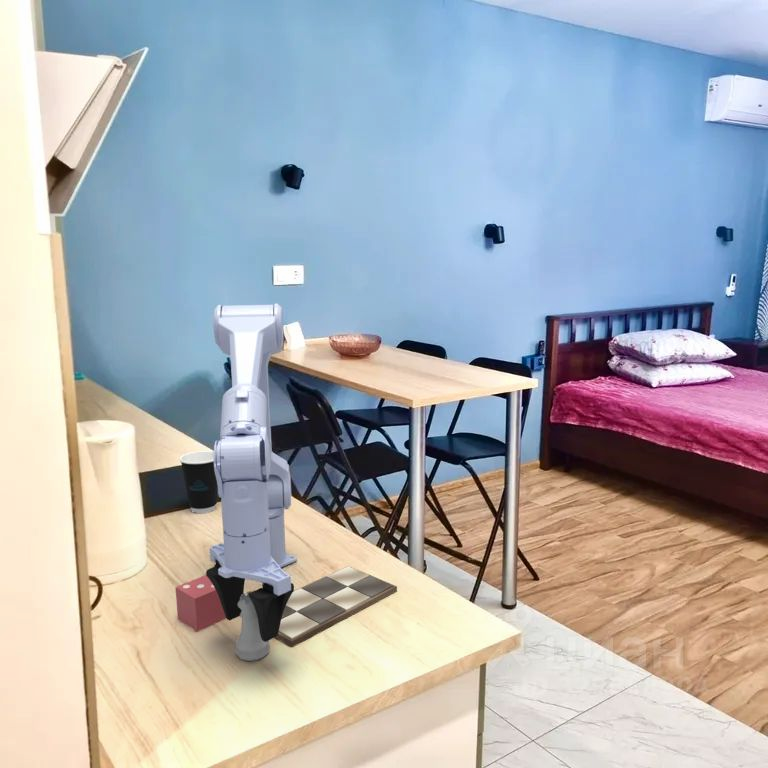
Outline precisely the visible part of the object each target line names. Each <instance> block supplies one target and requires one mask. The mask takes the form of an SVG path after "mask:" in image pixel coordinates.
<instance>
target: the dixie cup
mask: <svg viewBox="0 0 768 768" xmlns="http://www.w3.org/2000/svg"><path fill="white" fill-rule="evenodd" d="M178 460H179V462H180V464H181V469H182V475H183V479H184V484H185V485H184V486H185V490H186V495H187V500H188V505H189V507H190V510H192V511H193V512H192V511H191V512H192V513H194V512H196V513H195V514H206V512H208V513H211V512H213V511H215V510H216V507H217V506H216V505H217V503H218V484H217V479H216V475H215V471H214V450H213V451H211V450H200V451H199V450H198V451H192V452H188V453H184V454H183V455H181V456H180V457H179V459H178ZM214 509H215V510H214ZM212 510H213V511H212ZM210 511H211V512H210Z"/></svg>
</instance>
